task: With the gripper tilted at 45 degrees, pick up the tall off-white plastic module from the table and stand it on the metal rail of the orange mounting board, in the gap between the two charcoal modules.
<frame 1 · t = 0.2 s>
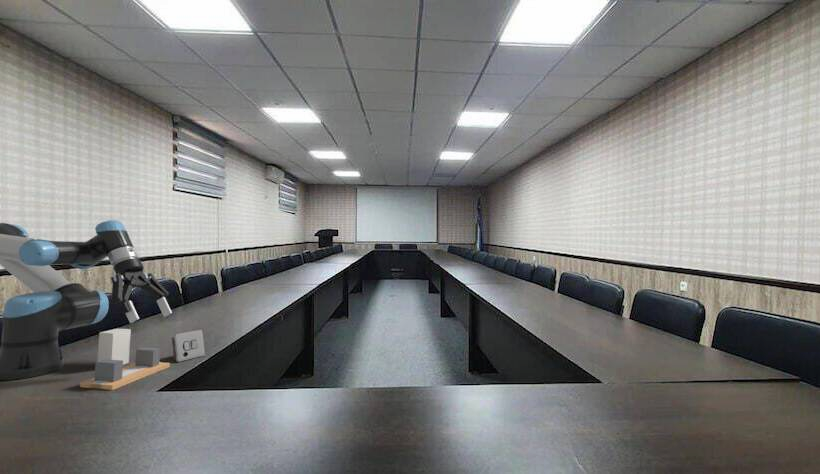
hand: (152, 317, 115), 15 cm above the table, tool tilted 30°, fingers open, 13 cm apart
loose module: (113, 364, 112), on the table
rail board: (128, 376, 103), on the table
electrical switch: (186, 358, 121), on the table
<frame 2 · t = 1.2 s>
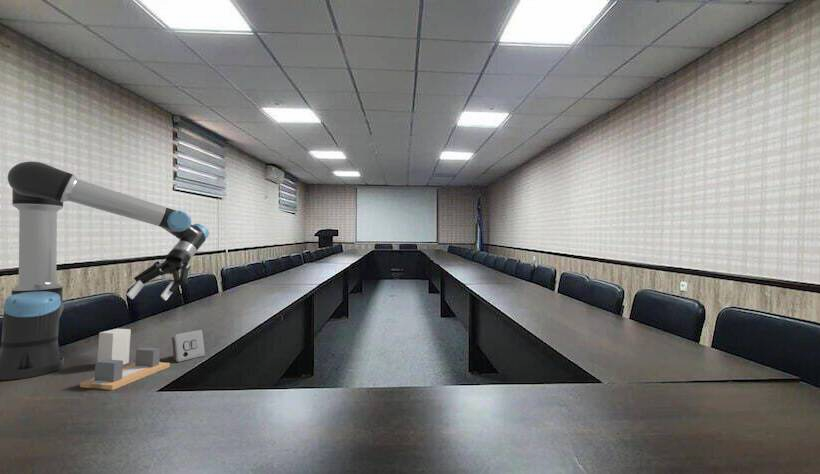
hand: (146, 297, 123), 20 cm above the table, tool tilted 45°, fingers open, 13 cm apart
nothing on the table moved.
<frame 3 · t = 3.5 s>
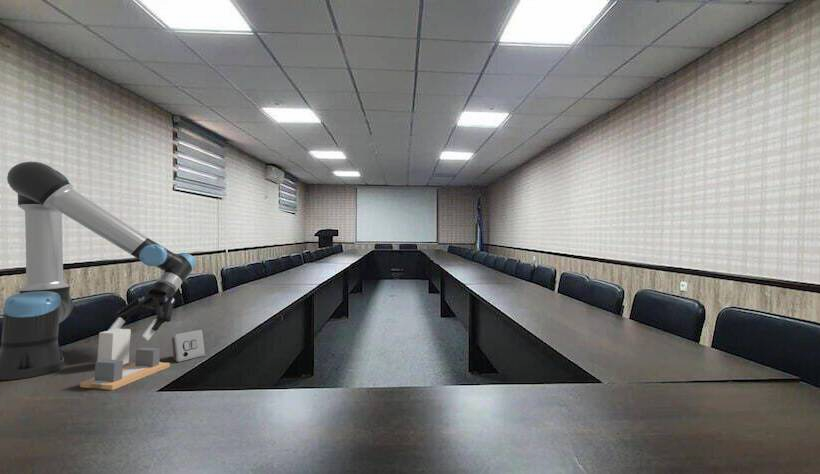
hand: (126, 337, 115), 8 cm above the table, tool tilted 45°, fingers open, 13 cm apart
nothing on the table moved.
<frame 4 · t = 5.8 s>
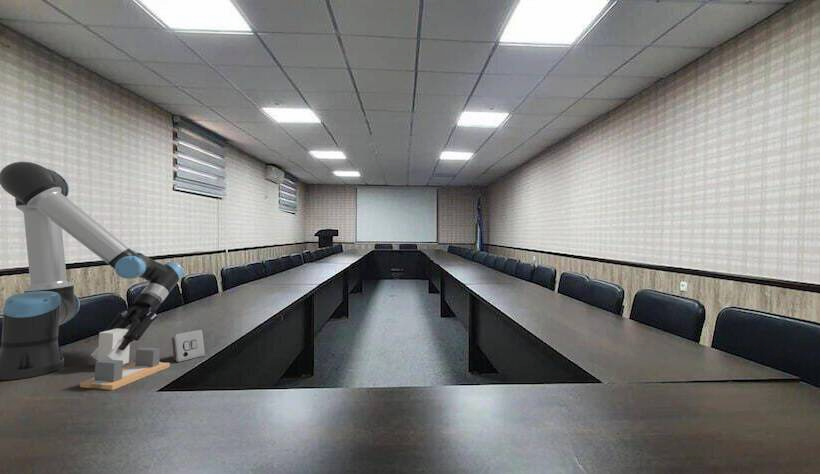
hand: (102, 358, 109), 3 cm above the table, tool tilted 45°, fingers closed on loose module, 5 cm apart
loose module: (113, 364, 112), on the table, touching gripper
everything else where it was.
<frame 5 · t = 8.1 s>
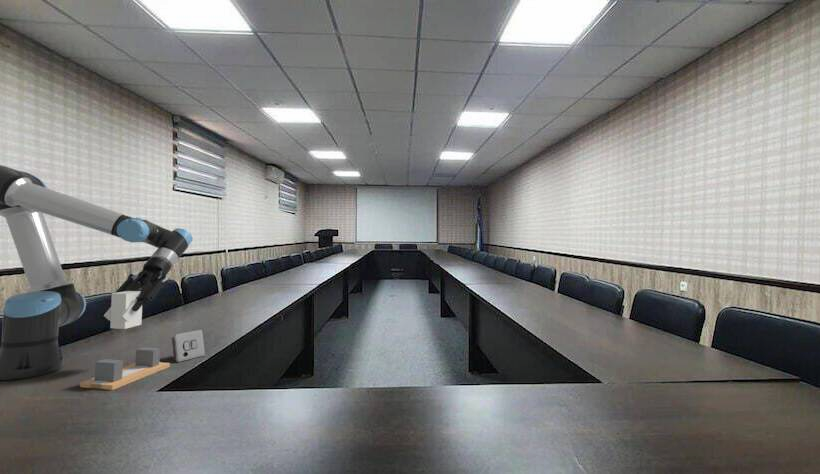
hand: (115, 318, 108), 16 cm above the table, tool tilted 45°, fingers closed on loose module, 5 cm apart
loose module: (126, 326, 111), point 13 cm above the table, touching gripper
everything else where it was.
when the fingers open (6 cm above the table, at t = 10.9 s): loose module drops 1 cm, resting on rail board.
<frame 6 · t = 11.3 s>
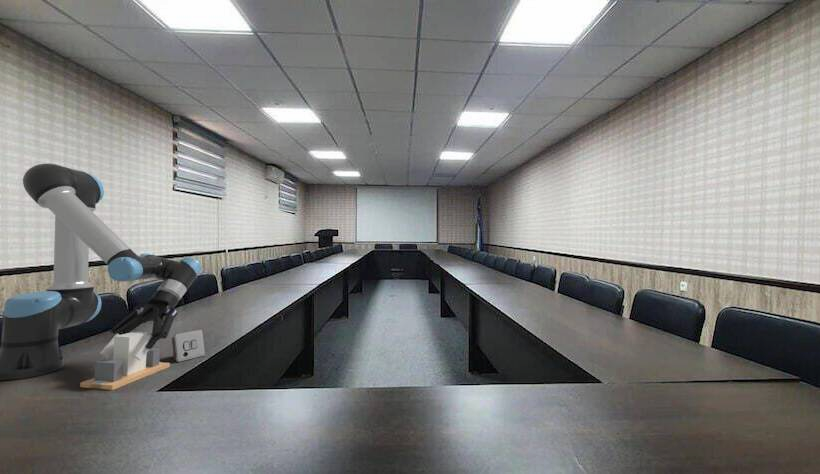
hand: (120, 356, 100), 7 cm above the table, tool tilted 45°, fingers open, 10 cm apart
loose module: (129, 371, 103), point 1 cm above the table, touching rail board
everything else where it was.
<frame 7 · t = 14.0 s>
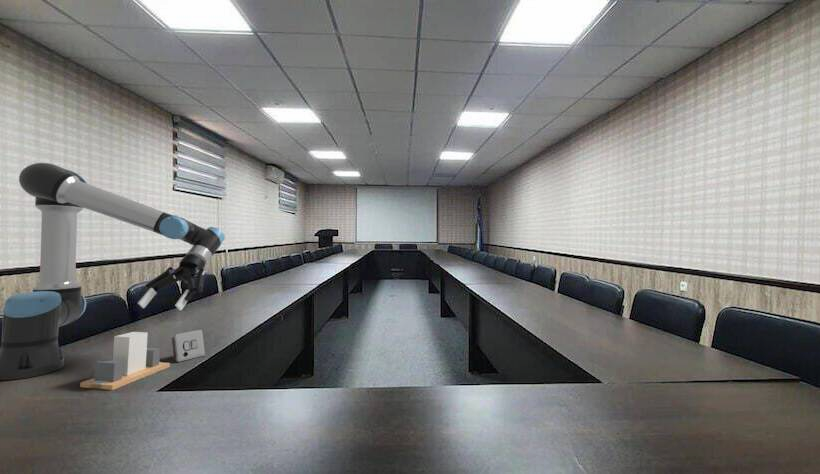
hand: (159, 307, 113), 19 cm above the table, tool tilted 45°, fingers open, 13 cm apart
nothing on the table moved.
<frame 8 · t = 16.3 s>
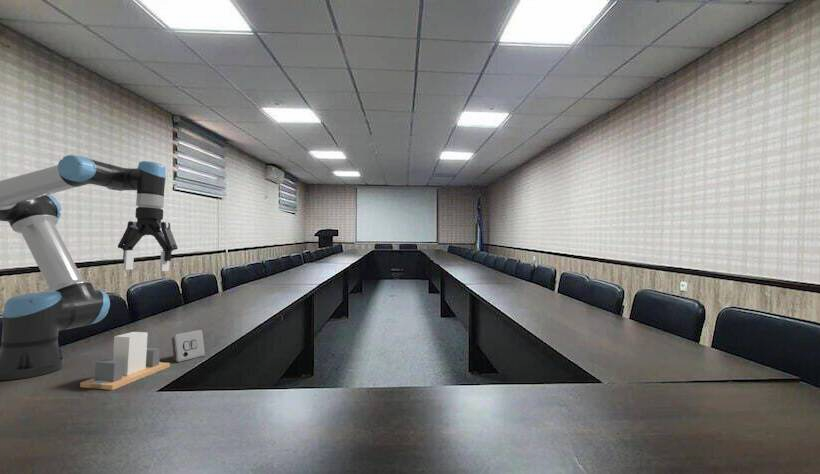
hand: (146, 270, 117), 31 cm above the table, tool pointing down, fingers open, 13 cm apart
nothing on the table moved.
at the end: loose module 0.1 cm off-centre on the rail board, point 1.3 cm above the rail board's base; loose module tilted 0°; the gripper is holding nothing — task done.
